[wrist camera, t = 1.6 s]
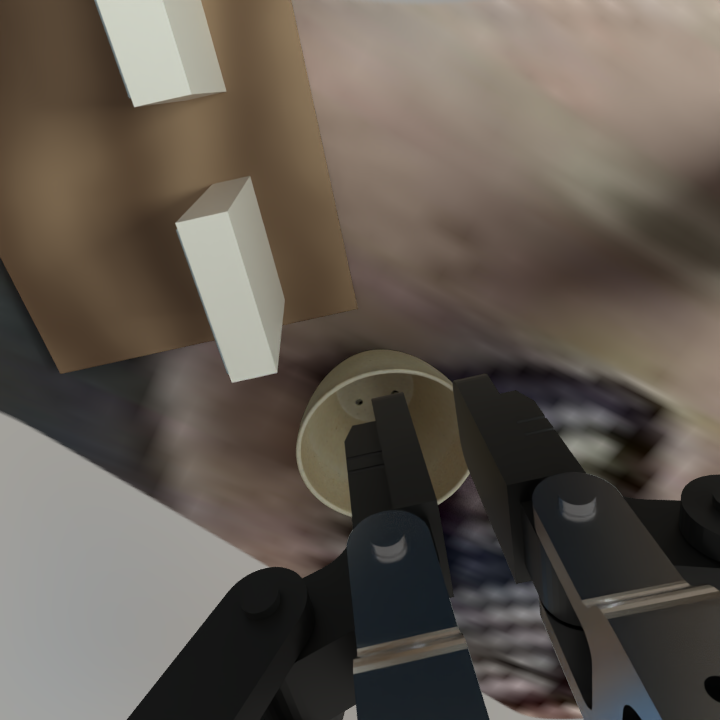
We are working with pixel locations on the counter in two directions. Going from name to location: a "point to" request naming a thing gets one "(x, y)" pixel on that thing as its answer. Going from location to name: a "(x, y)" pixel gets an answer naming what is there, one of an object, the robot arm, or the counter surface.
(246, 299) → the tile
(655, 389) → the counter surface
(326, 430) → the flower pot
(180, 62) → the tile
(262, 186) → the board
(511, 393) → the robot arm
